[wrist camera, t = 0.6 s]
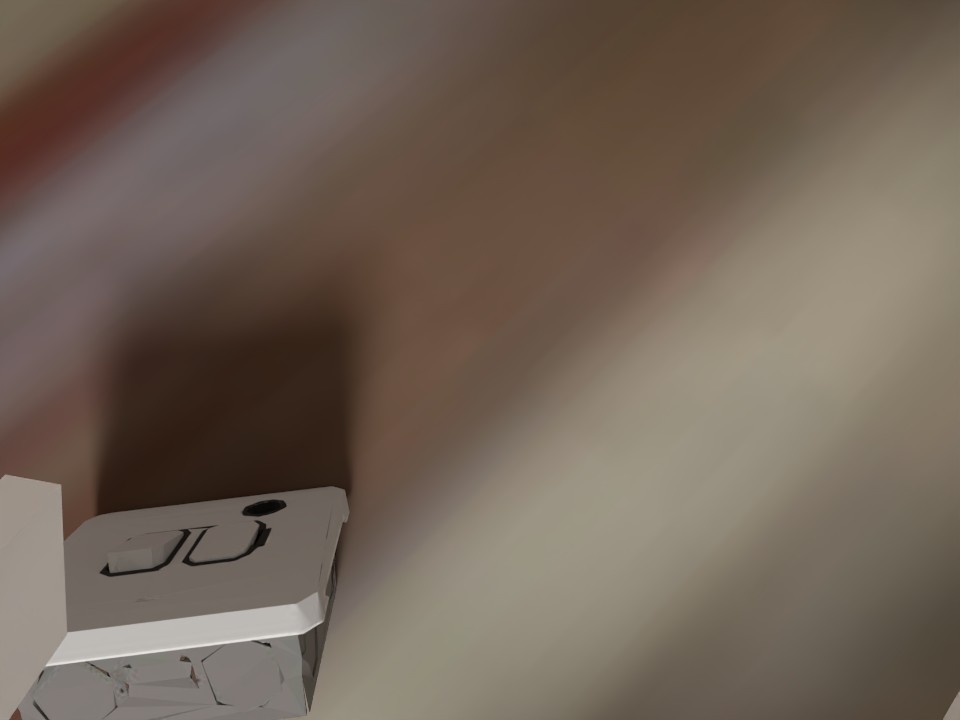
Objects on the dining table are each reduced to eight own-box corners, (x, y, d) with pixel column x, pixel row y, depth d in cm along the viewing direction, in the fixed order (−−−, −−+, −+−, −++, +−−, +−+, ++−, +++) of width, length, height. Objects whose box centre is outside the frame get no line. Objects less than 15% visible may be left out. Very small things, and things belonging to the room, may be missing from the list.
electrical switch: (350, 482, 31) (309, 534, 22) (366, 621, 31) (332, 732, 22) (93, 513, 31) (-58, 579, 22) (109, 653, 31) (-34, 780, 22)
